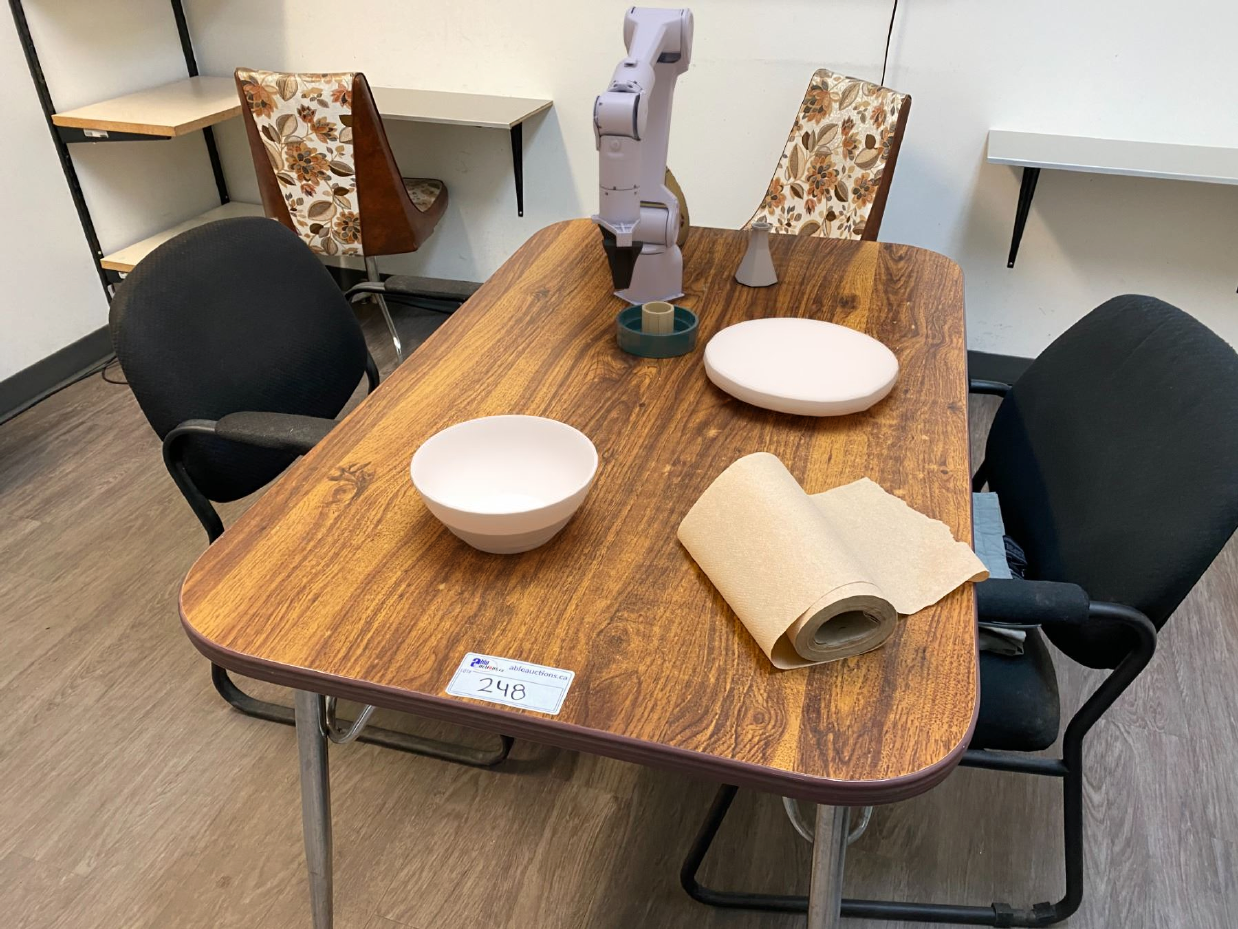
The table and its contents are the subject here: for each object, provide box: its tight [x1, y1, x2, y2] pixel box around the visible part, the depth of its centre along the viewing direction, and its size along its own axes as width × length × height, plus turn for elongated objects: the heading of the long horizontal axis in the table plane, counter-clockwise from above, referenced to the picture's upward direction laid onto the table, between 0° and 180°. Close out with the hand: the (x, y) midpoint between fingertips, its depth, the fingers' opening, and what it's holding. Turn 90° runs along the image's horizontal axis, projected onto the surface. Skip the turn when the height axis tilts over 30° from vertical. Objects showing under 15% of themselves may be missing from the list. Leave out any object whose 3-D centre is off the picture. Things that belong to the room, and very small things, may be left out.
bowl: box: [409, 414, 599, 555], centre depth 97 cm, size 20×20×8 cm
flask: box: [734, 221, 778, 287], centre depth 159 cm, size 7×7×10 cm
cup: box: [641, 301, 674, 334], centre depth 137 cm, size 5×5×5 cm
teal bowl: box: [616, 303, 700, 359], centre depth 137 cm, size 12×12×4 cm
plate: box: [702, 317, 900, 417], centre depth 127 cm, size 28×6×27 cm
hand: (619, 278), depth 133 cm, fingers open, 7 cm apart
